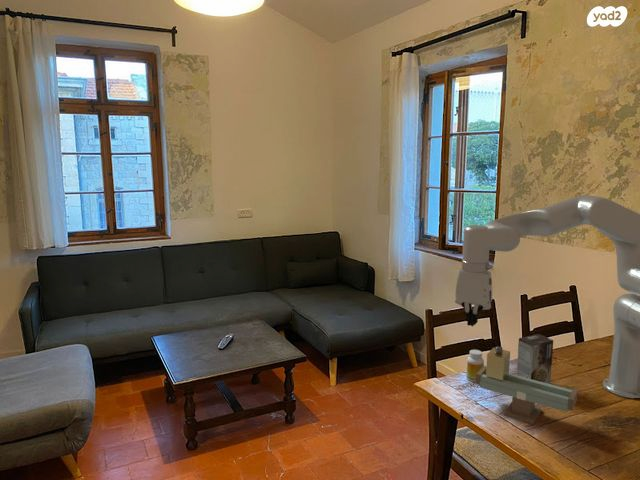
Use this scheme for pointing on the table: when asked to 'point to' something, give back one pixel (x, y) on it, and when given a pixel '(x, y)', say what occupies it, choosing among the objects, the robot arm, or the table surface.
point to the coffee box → (535, 358)
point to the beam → (528, 395)
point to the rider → (498, 363)
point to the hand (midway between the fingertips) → (471, 324)
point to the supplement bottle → (474, 364)
